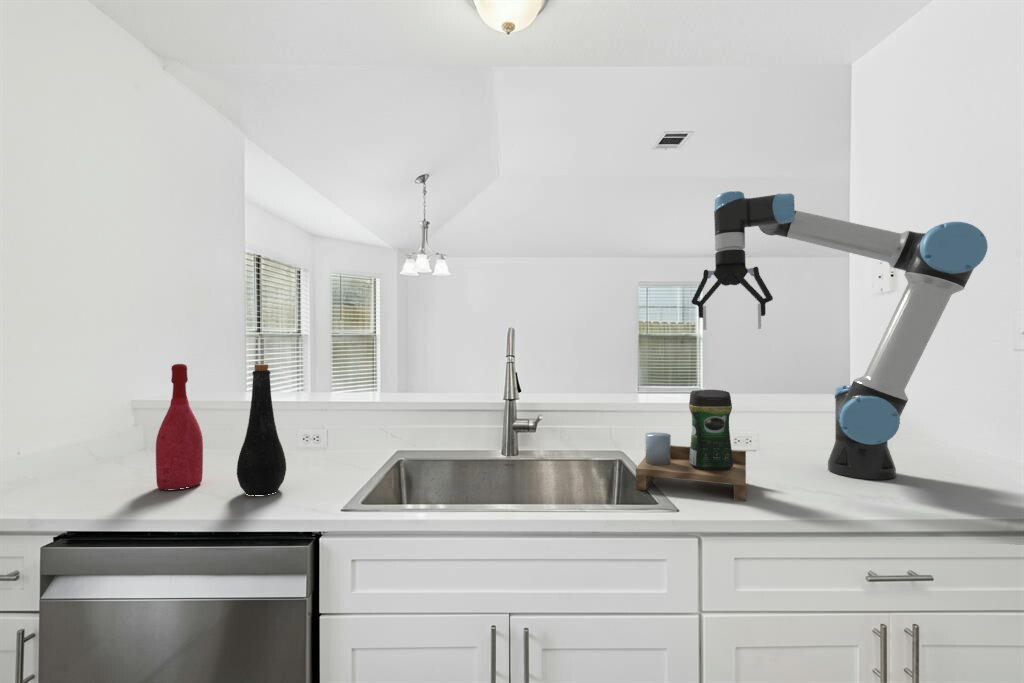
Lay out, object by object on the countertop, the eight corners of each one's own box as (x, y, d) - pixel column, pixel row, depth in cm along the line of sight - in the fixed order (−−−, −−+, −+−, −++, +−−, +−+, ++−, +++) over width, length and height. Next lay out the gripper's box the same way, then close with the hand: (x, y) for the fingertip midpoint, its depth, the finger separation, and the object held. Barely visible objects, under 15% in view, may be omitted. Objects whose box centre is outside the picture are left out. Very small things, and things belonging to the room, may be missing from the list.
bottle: (296, 488, 129) (295, 363, 129) (262, 501, 119) (262, 366, 119) (261, 484, 133) (260, 363, 133) (225, 496, 123) (225, 365, 123)
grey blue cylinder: (672, 461, 135) (671, 433, 135) (668, 466, 130) (668, 437, 130) (647, 459, 138) (647, 431, 138) (643, 464, 132) (643, 435, 132)
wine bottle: (212, 483, 134) (211, 363, 134) (172, 493, 125) (172, 365, 125) (186, 479, 138) (185, 362, 138) (146, 489, 129) (145, 364, 129)
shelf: (745, 483, 133) (745, 450, 133) (745, 501, 118) (745, 464, 118) (647, 473, 143) (647, 443, 143) (635, 489, 128) (635, 455, 128)
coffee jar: (726, 463, 132) (725, 388, 132) (736, 471, 125) (736, 391, 124) (685, 463, 133) (685, 388, 133) (693, 470, 125) (693, 391, 125)
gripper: (779, 249, 145) (781, 328, 145) (682, 256, 153) (683, 330, 153) (783, 244, 138) (784, 327, 137) (681, 252, 146) (682, 330, 146)
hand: (731, 329), depth 145 cm, fingers open, 13 cm apart
